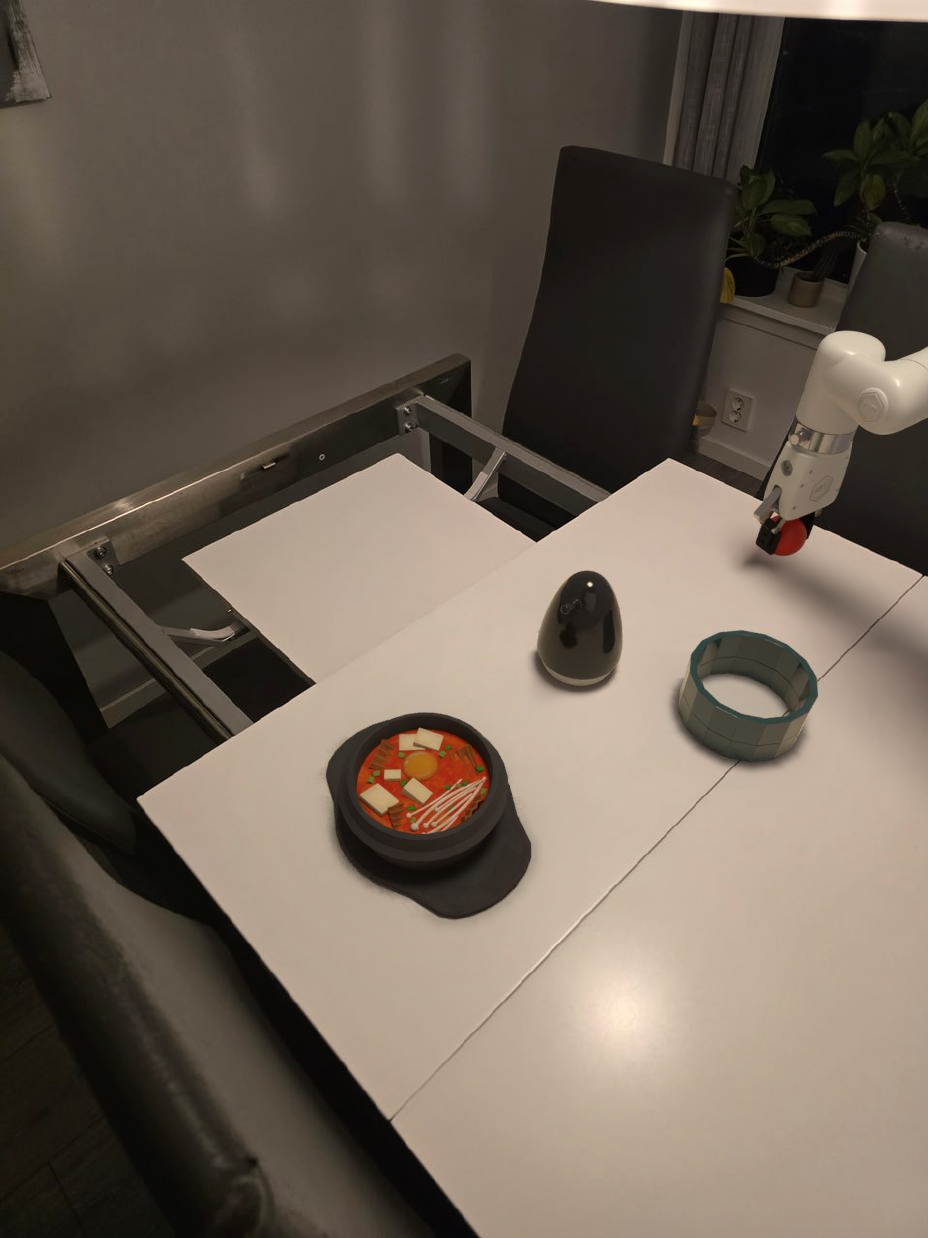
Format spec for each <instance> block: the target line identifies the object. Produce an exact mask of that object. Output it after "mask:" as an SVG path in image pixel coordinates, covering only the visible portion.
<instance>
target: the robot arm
mask: <svg viewBox="0 0 928 1238" xmlns="http://www.w3.org/2000/svg"><path fill="white" fill-rule="evenodd" d="M885 359H886V348H885V345H884V344H883V342H882V341H881V340H879V339H878V338H876V337H874V336H873V335H871V334H867V333H866V332H865V333H864V332H860V331H855V330H839V331H834V332H832V333H830V334H827V335H826V336H825V337H824V338H823V339H822V340H821V342H820V343H819V344H818V347H817V350H816V352H815V355H814V357H813V360H812V364H811V367H810V369H809V373H808V376H807V379H806V383H805V385H804V388H803V391H802V394H801V397H800V400H799V403H798V406H797V409H796V412H795V414H794V417H793V421H792V424H791V427H790V430H789V433H788V435H787V436H788V437H787V438H788V439H787V441H786V443H785V444H784V447H783V448H782V450H781V451H780V452H781V453H780V454H779V455H778V459H777V461H776V462H775V465H774V467H773V470H772V472H771V475H770V477H769V480H768V482H767V484H766V485H767V486H766V488H765V491H764V496H763V501H762V502H761V504H760V505H759V506H757V508H756V509H755V510H754V511H753V512H752V513H753V514H752V516H753V517H754V518H755V519H756V520H757V521H758V522H759V524H760V525H761V526H760V528H759V530H758V534H757V537H756V539H755V545H756V546H757V547H758V548H760V549H761V550H762V551H764V552H765V553H766V554H767V555H769V556H773V555H775V551H776V548H777V546H778V543H779V540H780V538H781V535H782V532H781V531H780V529H781V528H782V526H783V525H784V523H785V521H786V520H787V521H788V520H794V519H797V518H799V519H800V520H801V521H802V522H803V523H804V525H805V527H806V531H807V537H806V540H809V538H810V535H811V533H812V530H813V528H814V525H815V523H816V520H817V517H818V516H820V515H821V513H822V512H823V511H822V510H823V508H825V507H827V506H829V505H830V504H832V503H834V502H835V500H836V499H837V497H838V495H839V492H840V489H841V486H842V483H843V480H844V477H845V475H846V472H847V468H848V465H849V462H850V458H851V454H852V448H853V441H854V437H855V435H856V432H857V430H858V427H859V426H860V427H861V428H862V429H864V430H866V431H868V432H870V433H872V434H875V435H881V436H882V435H883V436H884V435H892V434H895V433H898V432H901V431H903V430H905V429H907V428H909V427H911V426H914V425H917V424H918V423H920V422H921V421H923V420H926V419H928V346H926V347H924V348H923V349H921V350H919V351H917V352H914V353H911V354H909V355H906V356H903V357H900V358H899V359H896V360H887V361H885ZM774 513H775V514H777V515H780V517H779V518H778V520H777V522H776V523H775V522H774V520H773V519H771V518H772V517H773V515H774Z"/></svg>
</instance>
